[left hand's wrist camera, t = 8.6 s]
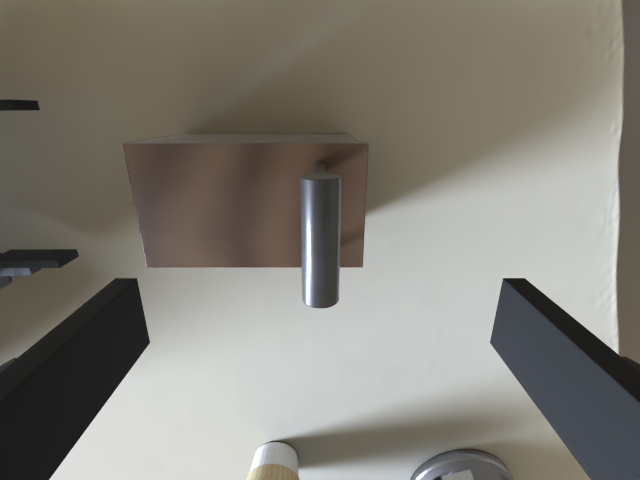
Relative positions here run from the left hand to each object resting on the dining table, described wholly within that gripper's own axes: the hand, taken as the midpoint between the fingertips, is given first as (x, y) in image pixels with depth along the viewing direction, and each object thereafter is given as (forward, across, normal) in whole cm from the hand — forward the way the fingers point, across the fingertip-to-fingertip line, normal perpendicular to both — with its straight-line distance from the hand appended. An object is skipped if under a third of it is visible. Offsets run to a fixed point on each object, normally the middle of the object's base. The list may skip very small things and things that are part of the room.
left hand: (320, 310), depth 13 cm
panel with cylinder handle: (+15, +5, 0) cm, 16 cm away
